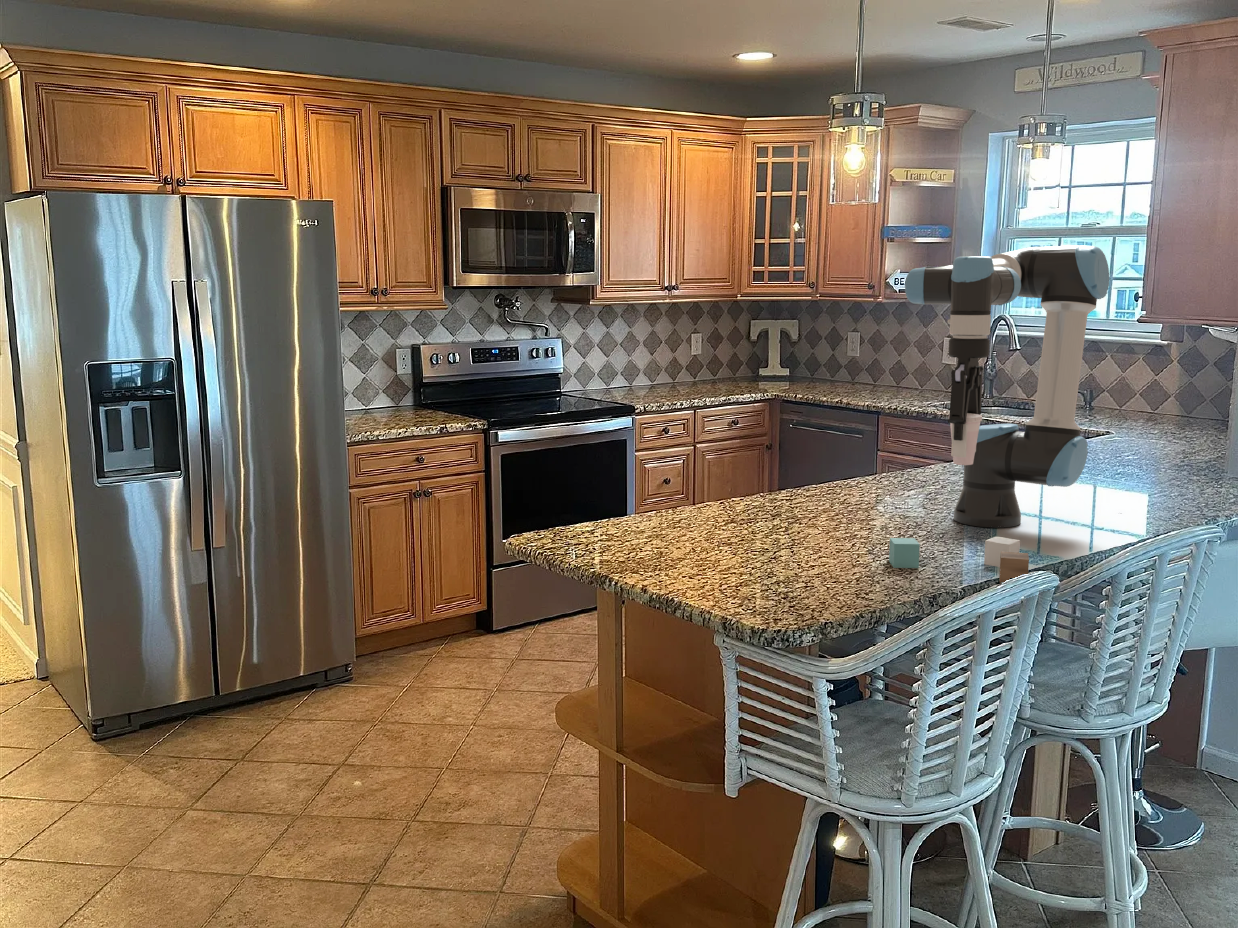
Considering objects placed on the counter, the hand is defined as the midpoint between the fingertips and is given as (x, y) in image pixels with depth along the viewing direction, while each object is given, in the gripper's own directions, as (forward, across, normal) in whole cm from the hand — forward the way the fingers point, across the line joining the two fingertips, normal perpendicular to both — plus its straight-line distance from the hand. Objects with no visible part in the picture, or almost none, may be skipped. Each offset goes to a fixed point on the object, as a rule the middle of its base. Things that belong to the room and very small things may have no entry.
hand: (963, 453), depth 213 cm
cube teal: (+23, +5, -10) cm, 25 cm away
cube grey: (+23, -6, +7) cm, 25 cm away
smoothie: (+2, 0, 0) cm, 2 cm away
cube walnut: (+23, +5, +12) cm, 26 cm away
